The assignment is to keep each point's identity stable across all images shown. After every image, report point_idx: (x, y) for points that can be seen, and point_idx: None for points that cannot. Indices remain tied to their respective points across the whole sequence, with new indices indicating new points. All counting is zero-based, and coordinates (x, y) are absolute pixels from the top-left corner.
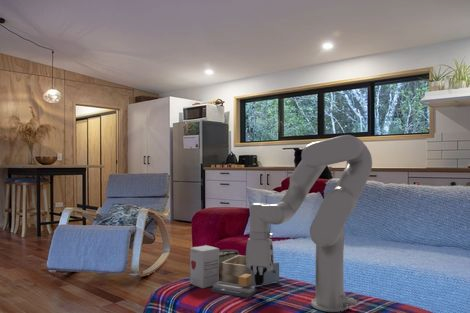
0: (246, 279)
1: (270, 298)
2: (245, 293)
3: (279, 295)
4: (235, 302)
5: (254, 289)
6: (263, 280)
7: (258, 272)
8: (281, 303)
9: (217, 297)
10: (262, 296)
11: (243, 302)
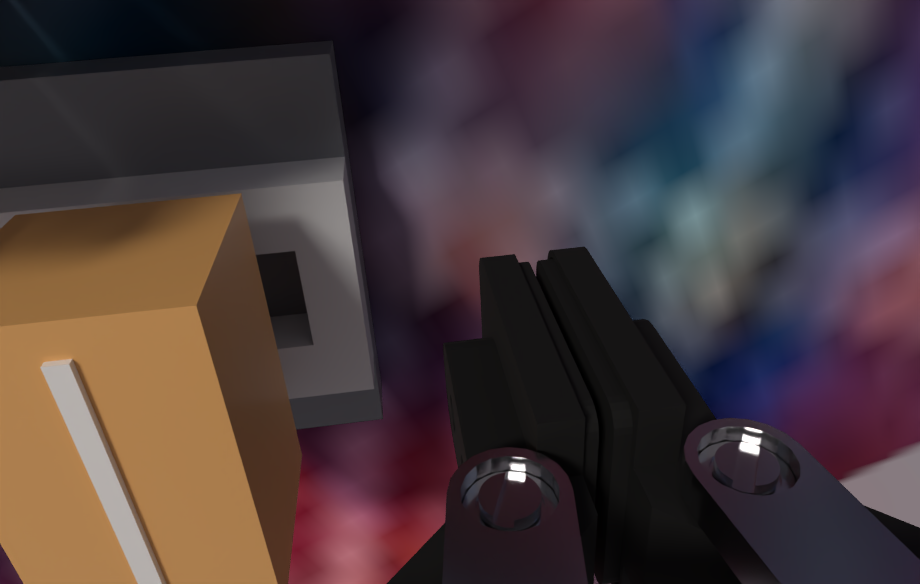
0: (285, 561)
1: (702, 233)
2: (319, 406)
3: (820, 3)
4: (340, 573)
5: (347, 179)
6: (655, 343)
7: (593, 572)
8: (892, 323)
9: (14, 573)
10: (551, 219)
11: (424, 529)
